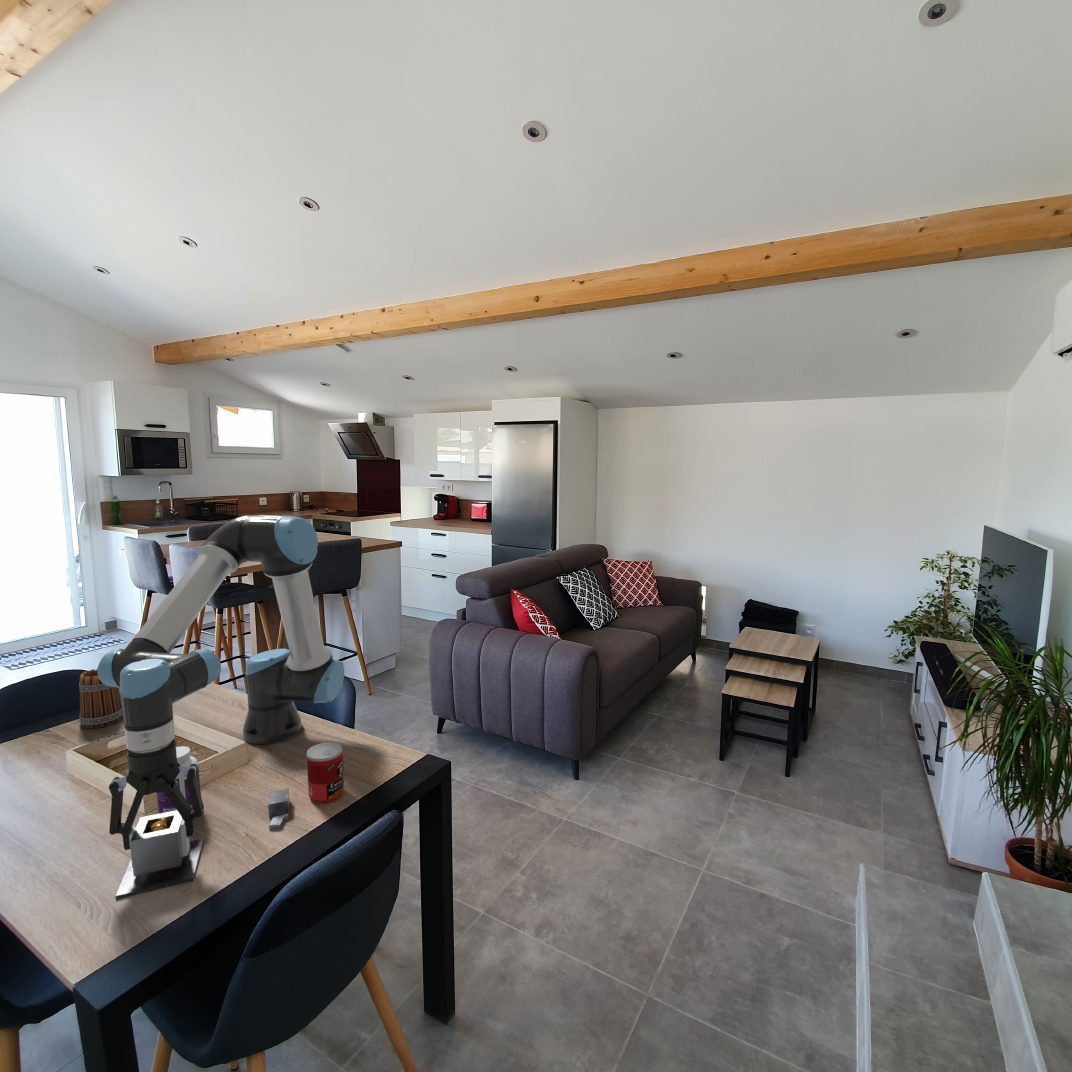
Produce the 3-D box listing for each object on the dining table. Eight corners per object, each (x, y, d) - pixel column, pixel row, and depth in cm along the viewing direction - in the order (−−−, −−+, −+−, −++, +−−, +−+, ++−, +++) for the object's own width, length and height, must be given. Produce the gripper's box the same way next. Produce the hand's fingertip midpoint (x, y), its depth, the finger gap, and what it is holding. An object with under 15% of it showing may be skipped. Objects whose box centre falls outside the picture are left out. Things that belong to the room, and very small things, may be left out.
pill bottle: (196, 798, 132) (191, 739, 130) (206, 814, 126) (201, 752, 124) (155, 813, 126) (149, 752, 124) (164, 830, 121) (158, 766, 119)
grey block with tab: (270, 804, 130) (269, 792, 129) (289, 800, 131) (288, 788, 131) (267, 831, 120) (266, 818, 120) (288, 827, 122) (287, 814, 122)
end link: (143, 850, 112) (140, 817, 111) (187, 841, 114) (185, 808, 113) (133, 876, 105) (130, 841, 104) (180, 865, 108) (177, 831, 107)
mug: (106, 729, 165) (101, 679, 163) (70, 729, 165) (64, 679, 163) (144, 705, 180) (140, 660, 178) (111, 705, 180) (106, 659, 178)
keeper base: (133, 855, 113) (129, 813, 112) (203, 840, 118) (200, 800, 116) (115, 899, 102) (110, 852, 101) (193, 880, 106) (189, 836, 105)
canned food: (333, 806, 129) (331, 760, 128) (301, 801, 131) (298, 756, 129) (350, 787, 137) (349, 743, 135) (320, 783, 138) (318, 740, 137)
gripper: (76, 764, 99) (90, 885, 102) (210, 743, 107) (219, 856, 110) (91, 744, 106) (103, 857, 109) (216, 726, 113) (224, 832, 117)
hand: (161, 856), depth 109 cm, fingers closed on end link, 7 cm apart
